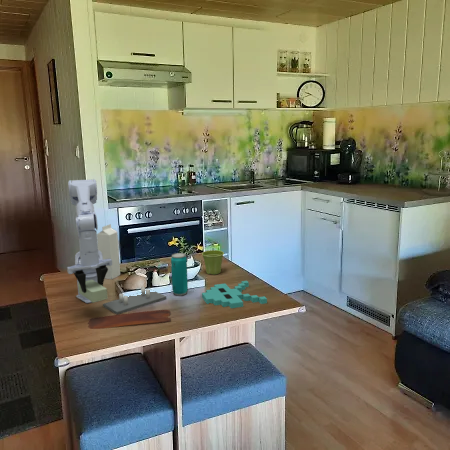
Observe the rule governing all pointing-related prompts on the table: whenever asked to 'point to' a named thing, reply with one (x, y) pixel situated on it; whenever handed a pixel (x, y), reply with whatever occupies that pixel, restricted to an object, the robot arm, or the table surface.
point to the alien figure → (230, 295)
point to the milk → (109, 250)
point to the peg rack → (133, 301)
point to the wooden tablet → (130, 319)
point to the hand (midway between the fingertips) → (92, 289)
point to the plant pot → (213, 261)
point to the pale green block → (94, 291)
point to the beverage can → (179, 274)
